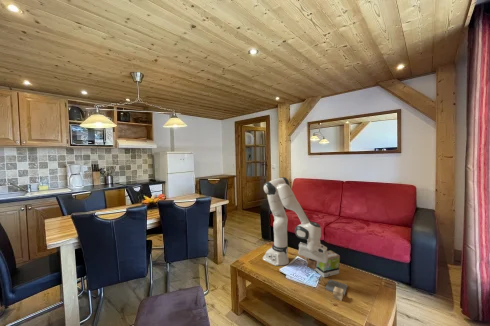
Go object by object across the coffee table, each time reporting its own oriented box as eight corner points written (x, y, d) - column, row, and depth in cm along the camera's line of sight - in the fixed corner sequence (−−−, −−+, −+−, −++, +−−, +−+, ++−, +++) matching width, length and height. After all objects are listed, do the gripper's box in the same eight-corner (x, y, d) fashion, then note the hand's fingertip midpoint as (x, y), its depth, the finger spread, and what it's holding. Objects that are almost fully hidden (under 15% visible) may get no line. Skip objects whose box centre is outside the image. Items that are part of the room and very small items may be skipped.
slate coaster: (324, 289, 143) (324, 287, 143) (329, 280, 153) (329, 279, 153) (344, 296, 136) (344, 294, 136) (347, 286, 146) (347, 285, 146)
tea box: (324, 278, 156) (324, 258, 155) (314, 271, 165) (315, 252, 165) (339, 274, 162) (340, 255, 161) (329, 267, 171) (330, 249, 170)
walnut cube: (307, 267, 150) (307, 260, 149) (309, 264, 154) (310, 257, 153) (314, 269, 147) (314, 262, 146) (316, 266, 151) (317, 259, 151)
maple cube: (333, 298, 135) (333, 290, 135) (334, 293, 139) (335, 286, 139) (341, 301, 132) (341, 293, 132) (343, 296, 136) (343, 289, 136)
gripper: (297, 243, 152) (296, 261, 153) (327, 251, 141) (325, 271, 142) (300, 240, 158) (299, 258, 159) (329, 248, 146) (328, 267, 147)
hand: (312, 264), depth 150 cm, fingers closed on walnut cube, 5 cm apart
